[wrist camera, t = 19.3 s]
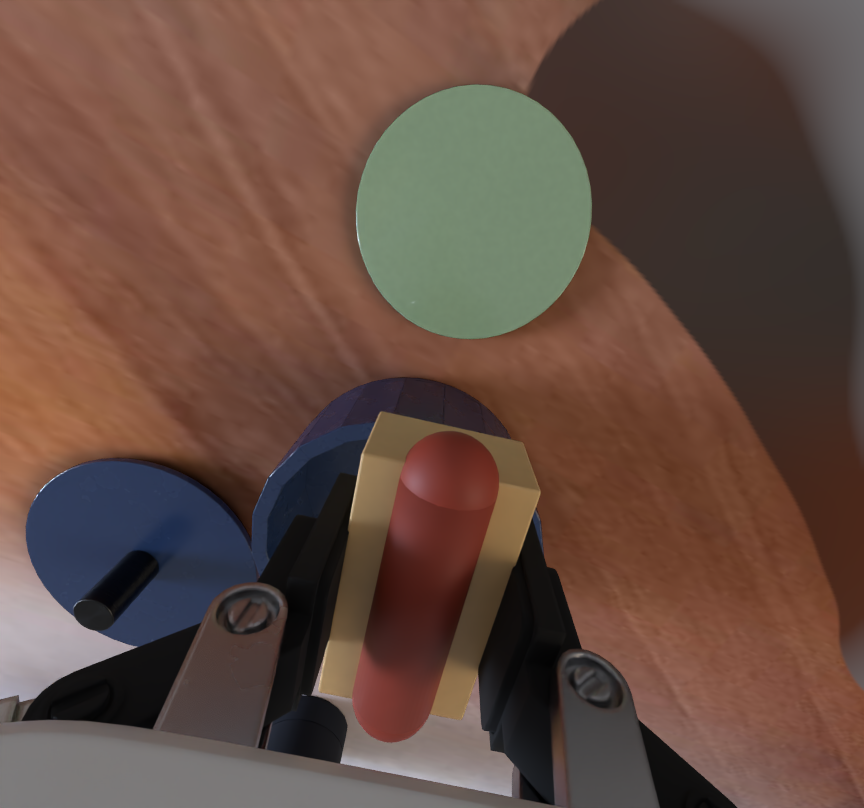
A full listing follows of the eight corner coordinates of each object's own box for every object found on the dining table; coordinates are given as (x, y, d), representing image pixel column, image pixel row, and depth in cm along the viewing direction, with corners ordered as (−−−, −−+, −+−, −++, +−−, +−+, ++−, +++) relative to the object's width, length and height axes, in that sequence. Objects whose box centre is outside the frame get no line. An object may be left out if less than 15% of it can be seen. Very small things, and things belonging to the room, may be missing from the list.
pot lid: (-2, 468, 30) (-99, 517, 24) (223, 439, 28) (171, 484, 23) (94, 646, 35) (31, 718, 30) (287, 629, 34) (257, 701, 28)
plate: (335, 114, 22) (332, 110, 21) (583, 65, 21) (587, 60, 20) (381, 350, 26) (380, 353, 25) (592, 320, 25) (596, 322, 24)
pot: (270, 394, 27) (212, 443, 21) (510, 361, 26) (531, 402, 19) (325, 585, 32) (293, 674, 25) (530, 565, 31) (552, 653, 24)
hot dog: (385, 382, 11) (358, 437, 8) (531, 415, 11) (563, 481, 8) (337, 633, 13) (303, 747, 10) (454, 657, 13) (456, 777, 10)
